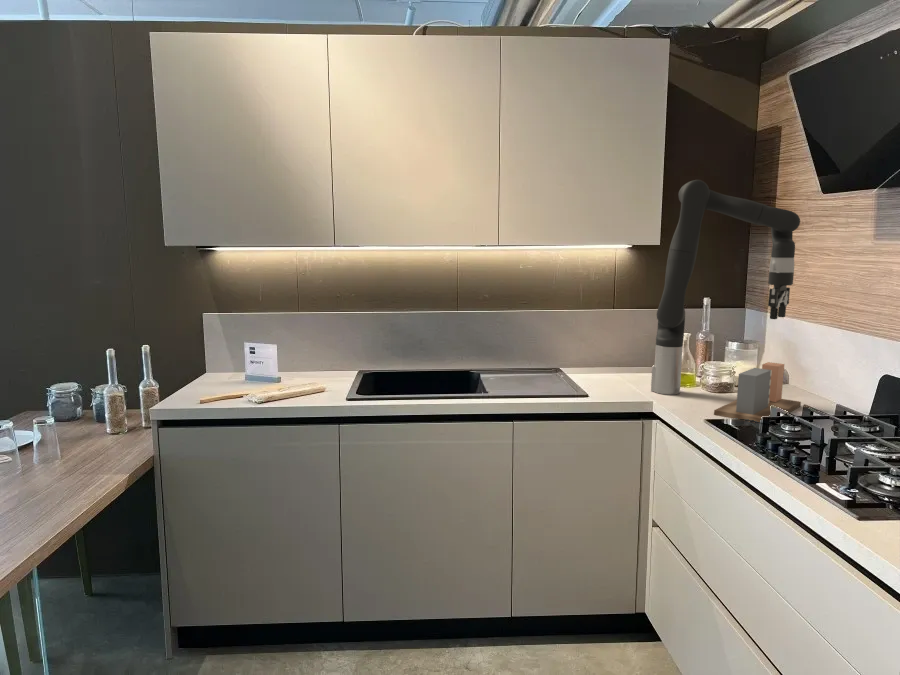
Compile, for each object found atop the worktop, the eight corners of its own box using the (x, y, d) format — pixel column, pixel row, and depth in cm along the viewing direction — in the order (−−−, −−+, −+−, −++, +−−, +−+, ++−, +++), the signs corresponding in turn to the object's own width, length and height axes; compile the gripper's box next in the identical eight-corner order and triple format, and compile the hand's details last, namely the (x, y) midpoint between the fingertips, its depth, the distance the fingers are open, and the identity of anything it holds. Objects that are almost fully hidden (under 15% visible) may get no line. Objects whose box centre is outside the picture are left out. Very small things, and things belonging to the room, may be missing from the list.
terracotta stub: (759, 399, 207) (762, 364, 206) (765, 396, 211) (768, 362, 210) (775, 402, 204) (778, 366, 202) (781, 399, 208) (784, 364, 206)
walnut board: (713, 414, 194) (714, 410, 194) (750, 397, 217) (750, 393, 216) (768, 425, 183) (769, 420, 183) (800, 406, 206) (800, 401, 205)
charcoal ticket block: (736, 411, 192) (738, 373, 190) (751, 403, 202) (754, 367, 200) (753, 414, 188) (756, 376, 187) (768, 406, 198) (771, 370, 197)
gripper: (776, 270, 219) (772, 315, 221) (762, 271, 209) (758, 318, 211) (799, 271, 214) (795, 317, 216) (786, 271, 204) (782, 320, 206)
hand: (777, 318), depth 214 cm, fingers open, 8 cm apart
